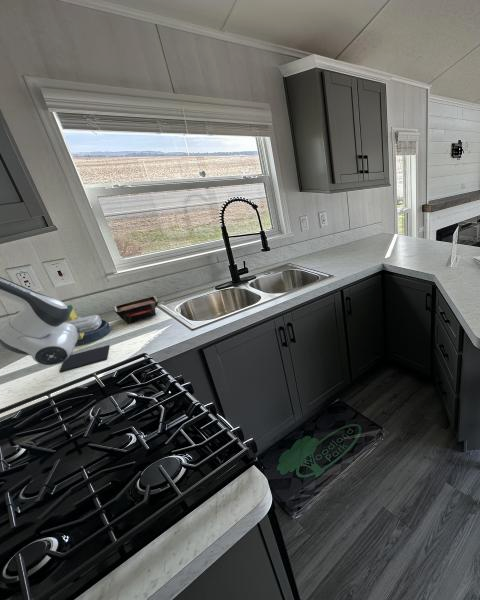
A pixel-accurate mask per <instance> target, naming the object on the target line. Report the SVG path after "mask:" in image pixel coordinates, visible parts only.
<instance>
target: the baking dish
mask: <svg viewBox="0 0 480 600" xmlns="http://www.w3.org/2000/svg"><path fill="white" fill-rule="evenodd" d="M158 304H159V298H158V296H155V295H151V296H148V297H144V298H139V299H136V300H131V301H129V302H124V303H122V304H121V303H120V304H117V305H115V306H114V307H113V312H114V313H115V314H116V315H118V316H119V317H120V318H121V319H122V320H123V322H124V323H126V325H131V324H134V323H137V322H140V321H143V320H146V319H150V318H153V317H156V316H157V313H156V308H157V306H158Z"/></svg>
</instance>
